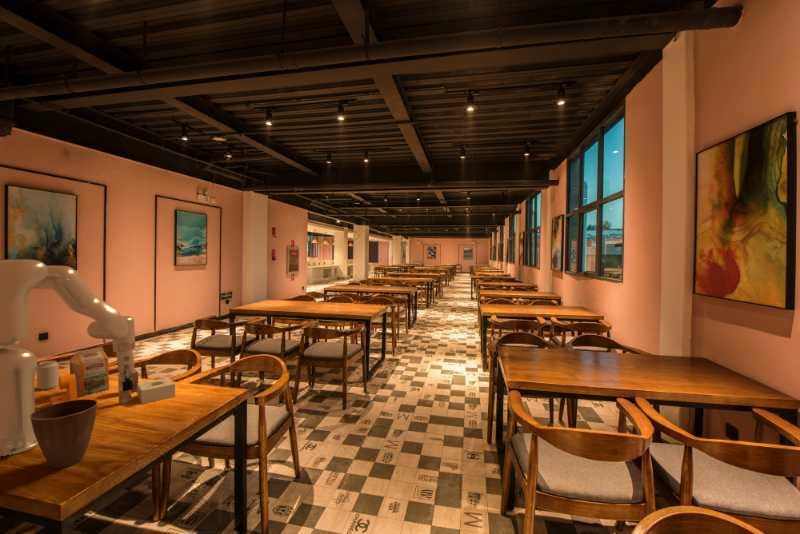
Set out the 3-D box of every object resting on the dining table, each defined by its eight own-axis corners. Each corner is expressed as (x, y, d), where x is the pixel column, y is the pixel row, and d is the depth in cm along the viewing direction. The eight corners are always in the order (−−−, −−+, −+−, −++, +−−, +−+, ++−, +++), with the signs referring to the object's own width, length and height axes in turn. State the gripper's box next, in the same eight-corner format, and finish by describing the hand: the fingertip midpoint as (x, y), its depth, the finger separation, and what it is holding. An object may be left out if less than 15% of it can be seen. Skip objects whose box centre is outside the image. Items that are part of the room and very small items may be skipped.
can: (41, 386, 179) (40, 360, 179) (61, 384, 182) (61, 359, 182) (34, 391, 172) (33, 365, 172) (55, 389, 175) (54, 363, 175)
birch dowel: (132, 402, 159) (131, 374, 158) (119, 405, 156) (118, 376, 156) (130, 400, 162) (129, 371, 162) (118, 402, 159) (117, 374, 159)
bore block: (175, 396, 166) (174, 384, 166) (141, 403, 158) (141, 390, 158) (169, 389, 175) (168, 377, 175) (137, 395, 167) (137, 383, 167)
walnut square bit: (138, 391, 172) (138, 371, 172) (124, 395, 168) (123, 374, 167) (134, 389, 175) (133, 369, 175) (119, 392, 171) (119, 372, 171)
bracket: (50, 404, 158) (49, 375, 157) (72, 399, 163) (72, 371, 163) (53, 411, 150) (53, 381, 150) (77, 405, 156) (77, 376, 155)
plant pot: (18, 480, 104) (16, 422, 104) (51, 452, 119) (49, 401, 118) (83, 471, 108) (82, 415, 108) (107, 446, 123) (106, 396, 122)
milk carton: (80, 397, 165) (79, 353, 165) (70, 392, 171) (69, 350, 170) (109, 390, 174) (108, 348, 174) (98, 385, 180) (97, 345, 179)
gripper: (138, 348, 154) (140, 390, 155) (132, 341, 167) (133, 379, 168) (115, 352, 149) (117, 395, 150) (110, 344, 162) (112, 383, 163)
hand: (126, 387), depth 159 cm, fingers open, 9 cm apart
